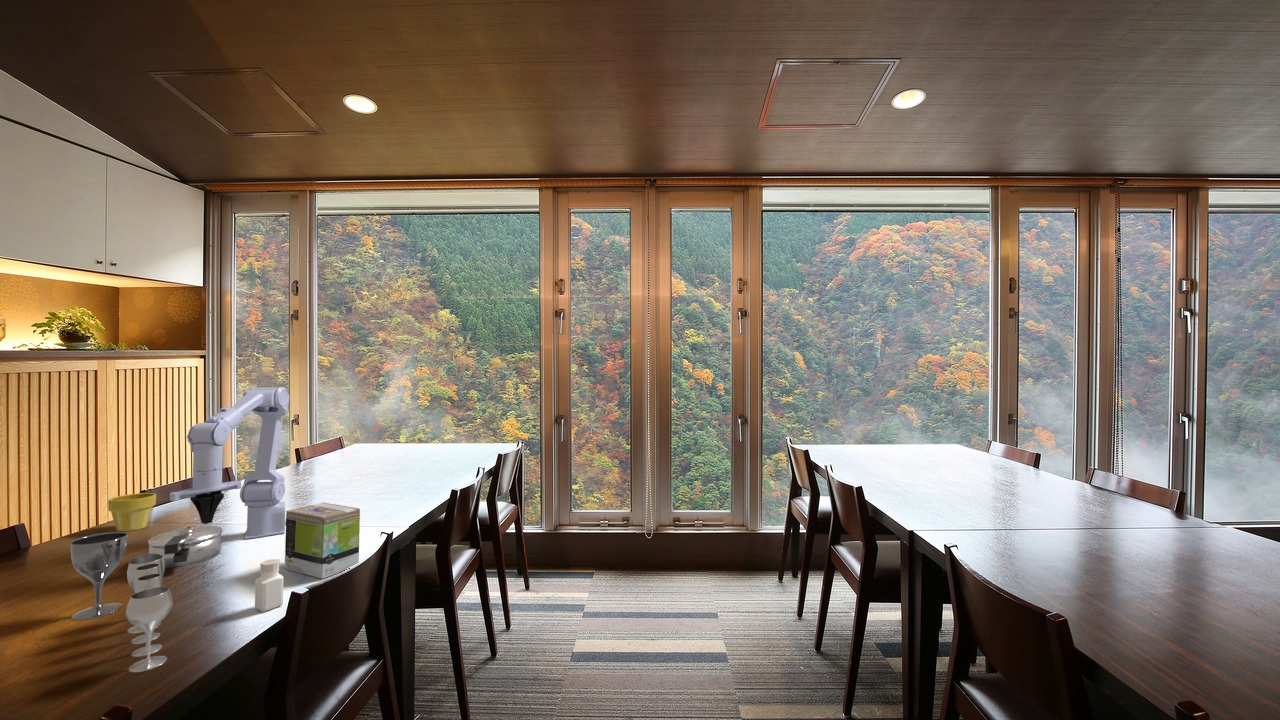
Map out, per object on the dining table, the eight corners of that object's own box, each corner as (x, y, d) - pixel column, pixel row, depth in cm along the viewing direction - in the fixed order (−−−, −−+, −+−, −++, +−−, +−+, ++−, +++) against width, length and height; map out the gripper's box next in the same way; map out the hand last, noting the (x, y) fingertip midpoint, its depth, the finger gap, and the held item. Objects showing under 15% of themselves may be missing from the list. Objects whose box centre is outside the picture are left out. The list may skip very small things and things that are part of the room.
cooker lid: (158, 533, 134) (159, 525, 134) (227, 526, 142) (227, 518, 142) (129, 559, 117) (130, 549, 117) (209, 548, 124) (209, 539, 124)
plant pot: (128, 523, 159) (129, 492, 159) (164, 522, 160) (165, 492, 161) (97, 534, 149) (98, 501, 149) (135, 533, 150) (136, 500, 150)
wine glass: (136, 603, 106) (138, 532, 107) (92, 622, 98) (94, 545, 99) (103, 601, 107) (105, 530, 107) (56, 619, 99) (58, 543, 99)
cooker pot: (153, 555, 133) (154, 536, 133) (222, 544, 141) (222, 526, 142) (139, 581, 117) (139, 559, 117) (217, 567, 126) (217, 547, 126)
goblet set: (122, 618, 100) (124, 551, 101) (162, 608, 105) (164, 544, 105) (124, 679, 81) (126, 596, 81) (172, 664, 85) (174, 585, 85)
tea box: (360, 565, 128) (361, 507, 128) (321, 580, 119) (322, 518, 119) (322, 555, 134) (324, 500, 134) (282, 569, 125) (284, 509, 125)
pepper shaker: (262, 613, 103) (263, 566, 103) (253, 608, 105) (254, 562, 105) (284, 605, 106) (285, 560, 106) (275, 601, 108) (276, 556, 108)
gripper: (230, 463, 136) (229, 513, 136) (163, 473, 123) (162, 528, 123) (246, 465, 134) (245, 516, 134) (179, 476, 120) (178, 532, 120)
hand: (206, 522), depth 128 cm, fingers closed
